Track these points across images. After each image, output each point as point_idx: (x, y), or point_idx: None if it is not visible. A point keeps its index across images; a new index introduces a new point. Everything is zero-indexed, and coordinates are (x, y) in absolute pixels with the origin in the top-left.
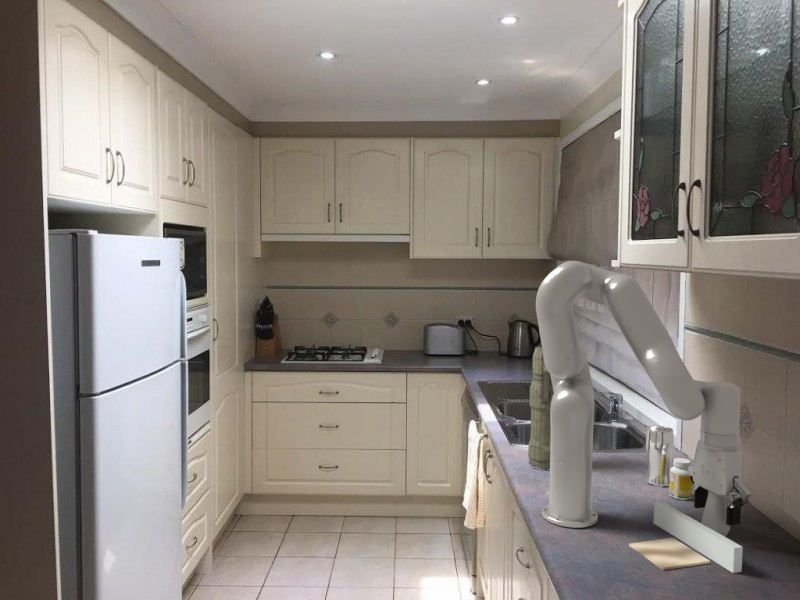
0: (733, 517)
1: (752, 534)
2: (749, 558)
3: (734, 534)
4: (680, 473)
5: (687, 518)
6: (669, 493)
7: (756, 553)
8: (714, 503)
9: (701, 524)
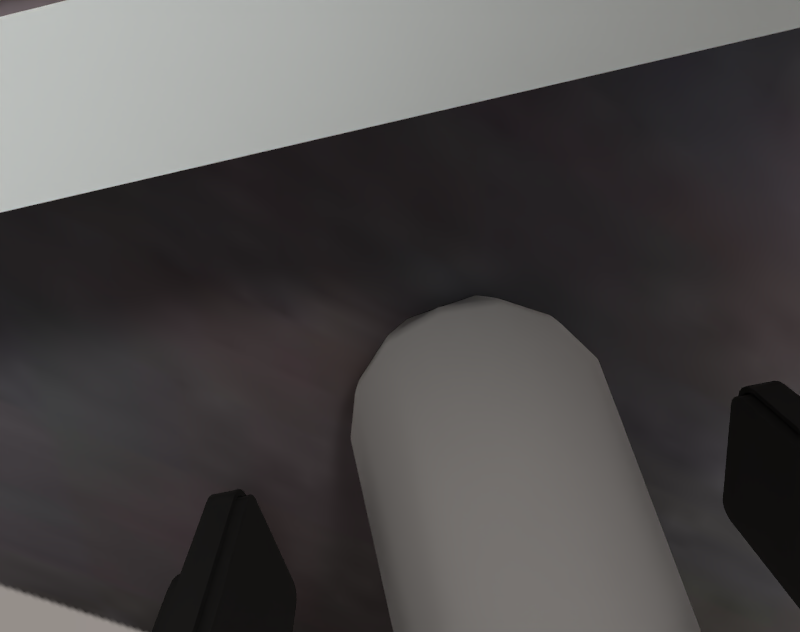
0: (163, 620)
1: None
2: (61, 413)
3: None
4: None
5: (359, 32)
6: None
7: (160, 487)
8: (446, 618)
9: (113, 161)
